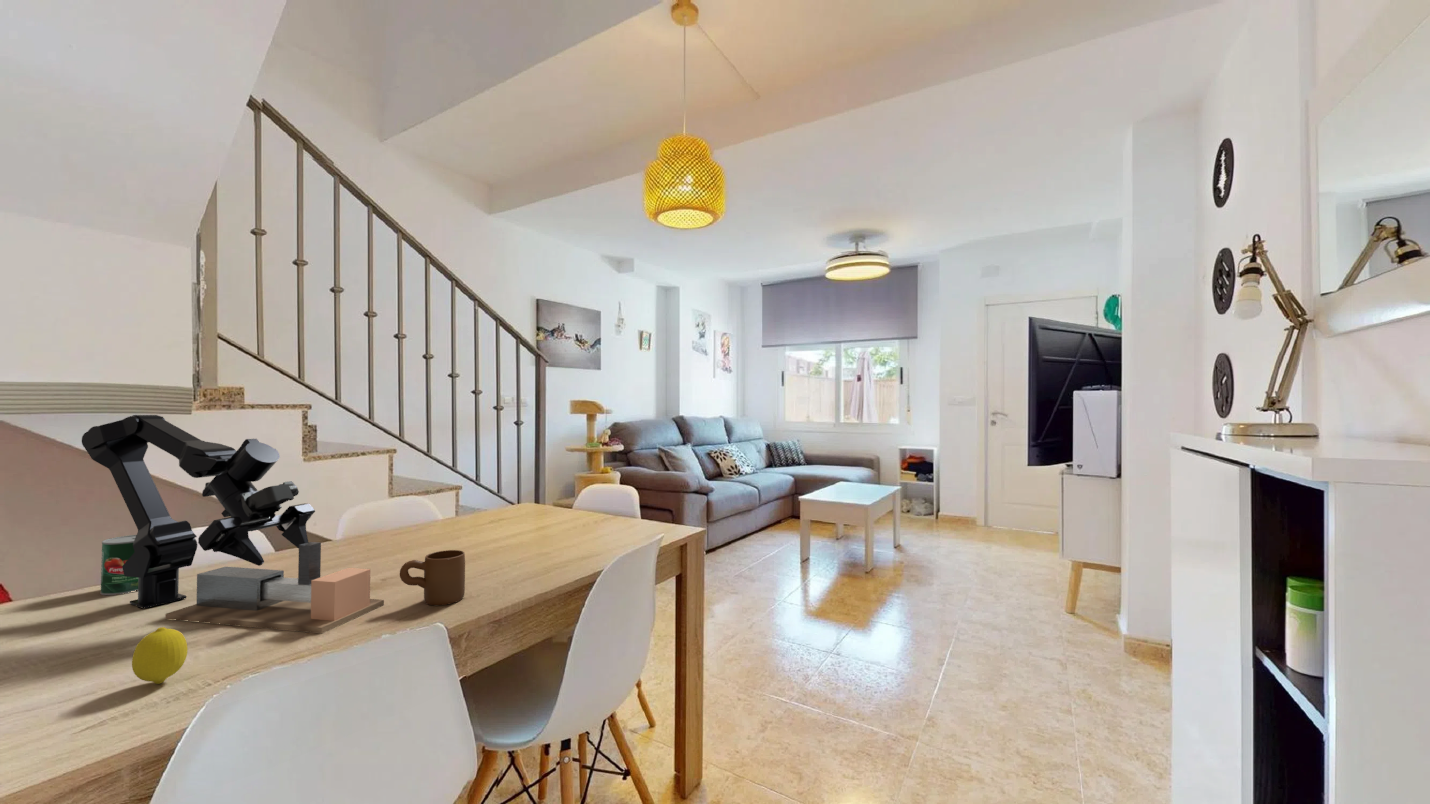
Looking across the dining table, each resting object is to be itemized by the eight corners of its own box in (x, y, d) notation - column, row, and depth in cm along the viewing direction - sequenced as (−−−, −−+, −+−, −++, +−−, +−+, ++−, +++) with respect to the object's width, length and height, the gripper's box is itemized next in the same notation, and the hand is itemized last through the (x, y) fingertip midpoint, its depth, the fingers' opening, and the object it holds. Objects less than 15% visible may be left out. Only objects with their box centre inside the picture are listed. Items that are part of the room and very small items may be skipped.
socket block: (310, 618, 98) (311, 580, 98) (347, 603, 106) (348, 567, 106) (334, 620, 97) (334, 582, 97) (369, 605, 105) (370, 569, 105)
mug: (401, 614, 103) (402, 565, 103) (396, 603, 109) (396, 556, 109) (468, 601, 110) (469, 555, 110) (460, 591, 116) (460, 547, 116)
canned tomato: (111, 597, 111) (113, 544, 111) (92, 592, 114) (93, 540, 114) (162, 585, 118) (163, 536, 119) (142, 581, 121) (143, 532, 121)
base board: (165, 619, 100) (165, 613, 100) (243, 593, 114) (243, 589, 114) (321, 633, 94) (321, 627, 94) (383, 604, 108) (384, 599, 108)
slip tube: (231, 596, 104) (232, 541, 104) (248, 590, 107) (249, 537, 107) (333, 604, 100) (334, 547, 100) (347, 598, 103) (348, 543, 103)
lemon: (157, 674, 79) (158, 620, 79) (197, 673, 80) (198, 619, 80) (118, 694, 74) (120, 636, 74) (162, 693, 74) (163, 635, 74)
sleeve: (196, 605, 104) (197, 574, 104) (225, 596, 109) (225, 566, 109) (256, 610, 102) (257, 578, 102) (283, 601, 107) (283, 570, 107)
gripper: (213, 475, 96) (263, 541, 94) (308, 465, 114) (352, 519, 112) (175, 517, 97) (224, 583, 95) (276, 500, 115) (319, 555, 113)
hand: (285, 557), depth 104 cm, fingers open, 9 cm apart
